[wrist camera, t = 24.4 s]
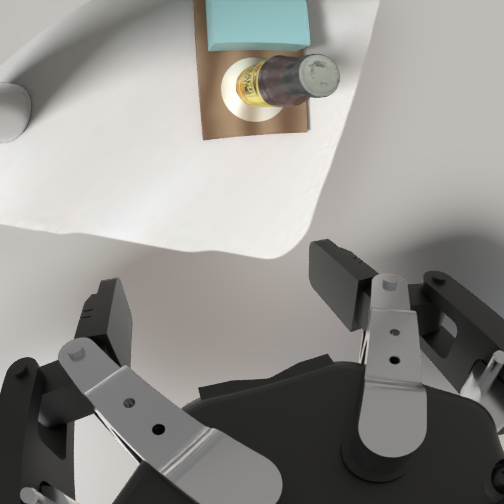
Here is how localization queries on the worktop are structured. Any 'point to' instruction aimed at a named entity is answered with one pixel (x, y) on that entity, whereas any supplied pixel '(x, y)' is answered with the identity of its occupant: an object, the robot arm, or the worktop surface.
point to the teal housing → (257, 25)
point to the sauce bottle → (287, 80)
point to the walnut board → (224, 91)
